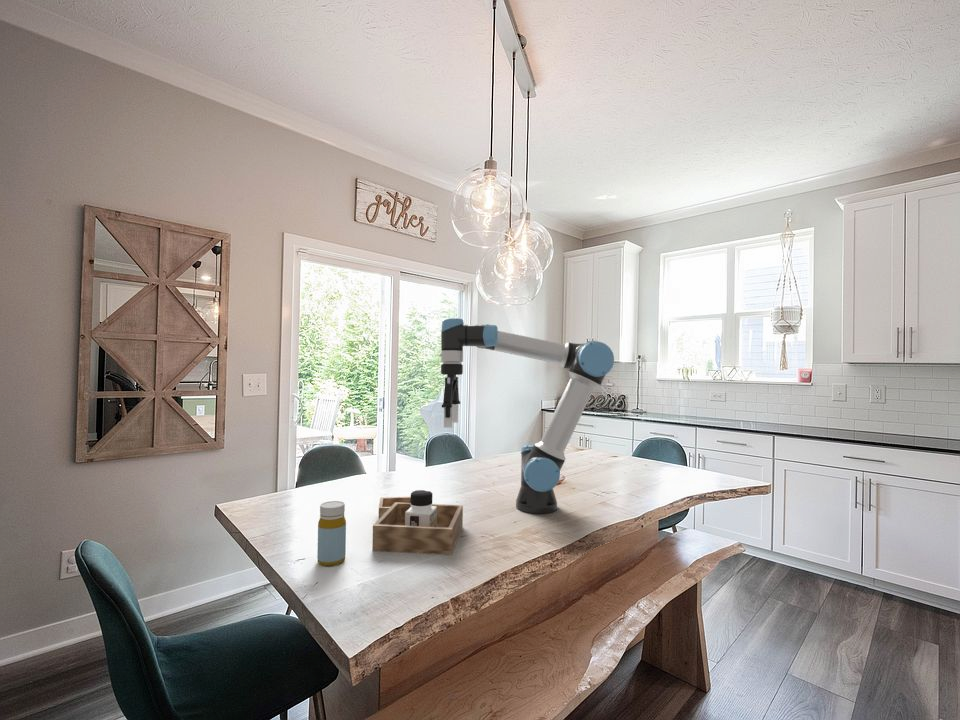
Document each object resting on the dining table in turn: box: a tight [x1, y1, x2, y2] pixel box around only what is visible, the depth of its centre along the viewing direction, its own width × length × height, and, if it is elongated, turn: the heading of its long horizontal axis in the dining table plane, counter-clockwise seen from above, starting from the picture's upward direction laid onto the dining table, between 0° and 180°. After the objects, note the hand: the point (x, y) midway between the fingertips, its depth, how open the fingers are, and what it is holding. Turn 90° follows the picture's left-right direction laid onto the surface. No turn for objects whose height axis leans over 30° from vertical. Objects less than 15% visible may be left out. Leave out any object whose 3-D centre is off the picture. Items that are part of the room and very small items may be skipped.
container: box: [405, 489, 437, 527], centre depth 140 cm, size 8×8×13 cm
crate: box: [371, 502, 464, 556], centre depth 140 cm, size 22×22×7 cm
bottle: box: [316, 500, 347, 567], centre depth 122 cm, size 7×7×15 cm
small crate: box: [377, 496, 411, 522], centre depth 156 cm, size 12×12×6 cm
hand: (451, 424), depth 160 cm, fingers open, 13 cm apart
